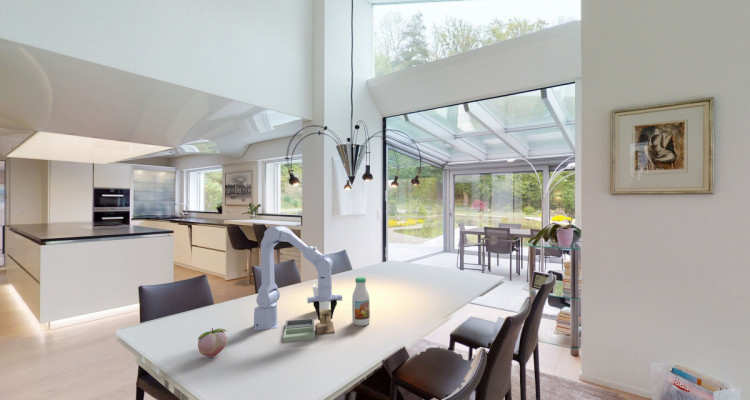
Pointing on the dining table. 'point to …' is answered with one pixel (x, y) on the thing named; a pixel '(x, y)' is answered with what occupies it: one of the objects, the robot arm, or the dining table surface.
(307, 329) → the sage tray
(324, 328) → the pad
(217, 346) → the decorative fruit
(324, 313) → the letter cube
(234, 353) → the dining table surface
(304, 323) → the gray tray
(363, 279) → the milk bottle
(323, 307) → the foam cup
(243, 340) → the dining table surface
